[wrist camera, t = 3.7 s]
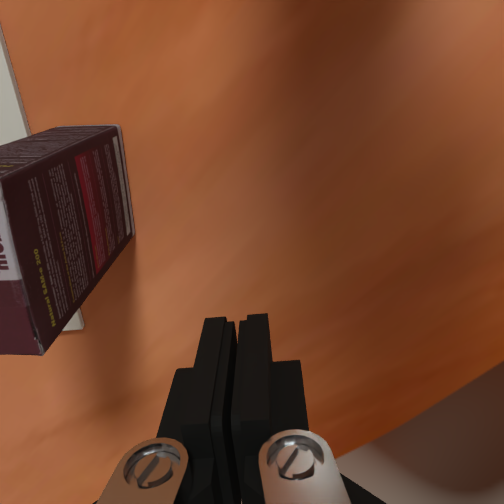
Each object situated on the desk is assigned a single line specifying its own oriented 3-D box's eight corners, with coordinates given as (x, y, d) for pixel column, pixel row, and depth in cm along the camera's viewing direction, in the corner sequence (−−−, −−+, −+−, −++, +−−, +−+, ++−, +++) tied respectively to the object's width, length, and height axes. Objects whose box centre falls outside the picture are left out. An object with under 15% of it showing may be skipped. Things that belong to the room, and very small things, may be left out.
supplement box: (55, 125, 32) (-118, 175, 18) (122, 122, 32) (3, 172, 18) (76, 238, 36) (-55, 359, 21) (137, 236, 36) (48, 358, 21)
